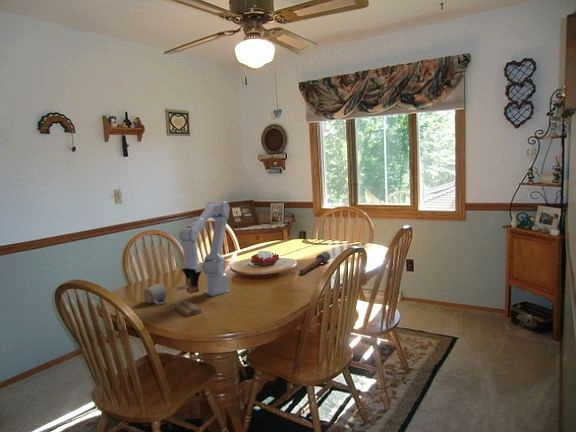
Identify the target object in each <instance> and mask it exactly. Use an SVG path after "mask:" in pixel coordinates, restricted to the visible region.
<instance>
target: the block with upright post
mask: <svg viewBox="0 0 576 432" xmlns="http://www.w3.org/2000/svg"><path fill="white" fill-rule="evenodd" d="M184 280H185V285H182V286H176V287H175V288H173V290H174V291H175V292H179V291H181V290H182V291H183V290H185V289H186V292H187V293H188V294H190V295H192V294H195V293H198V292H200V290H199V285H198V286H194V287H193V286H192V282H191V278H186V277H185V279H184Z"/></svg>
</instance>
